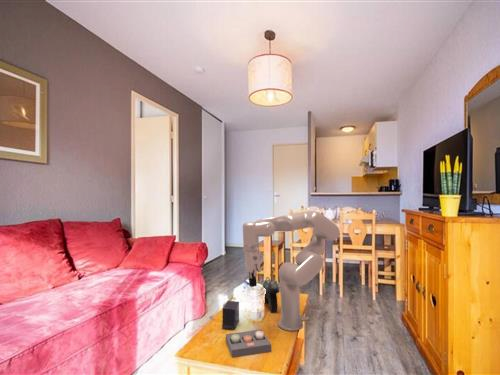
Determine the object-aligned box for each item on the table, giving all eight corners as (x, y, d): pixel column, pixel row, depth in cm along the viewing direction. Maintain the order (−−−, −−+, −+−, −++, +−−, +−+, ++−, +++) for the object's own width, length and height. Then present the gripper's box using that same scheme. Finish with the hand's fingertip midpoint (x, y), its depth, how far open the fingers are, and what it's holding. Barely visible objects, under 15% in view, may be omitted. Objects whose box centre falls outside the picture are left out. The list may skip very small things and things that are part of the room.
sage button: (238, 339, 124) (238, 333, 124) (240, 343, 120) (240, 337, 121) (230, 340, 123) (230, 334, 123) (232, 344, 120) (232, 338, 120)
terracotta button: (250, 340, 125) (250, 334, 125) (252, 344, 122) (252, 338, 122) (242, 341, 124) (242, 335, 124) (244, 345, 121) (244, 339, 121)
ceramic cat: (280, 313, 157) (279, 277, 158) (269, 314, 156) (268, 278, 157) (269, 301, 177) (269, 269, 178) (259, 302, 175) (259, 269, 176)
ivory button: (262, 336, 127) (262, 330, 127) (264, 339, 123) (264, 334, 123) (254, 337, 126) (254, 331, 126) (256, 341, 122) (256, 335, 123)
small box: (234, 330, 138) (234, 308, 138) (221, 329, 139) (221, 307, 139) (239, 321, 148) (239, 301, 148) (227, 320, 149) (227, 300, 150)
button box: (261, 335, 132) (261, 328, 132) (271, 351, 119) (271, 343, 119) (225, 340, 128) (225, 333, 128) (231, 357, 114) (231, 349, 114)
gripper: (264, 249, 130) (265, 289, 129) (253, 244, 144) (255, 280, 144) (248, 251, 127) (250, 292, 127) (239, 246, 142) (241, 282, 141)
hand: (252, 286), depth 135 cm, fingers closed
